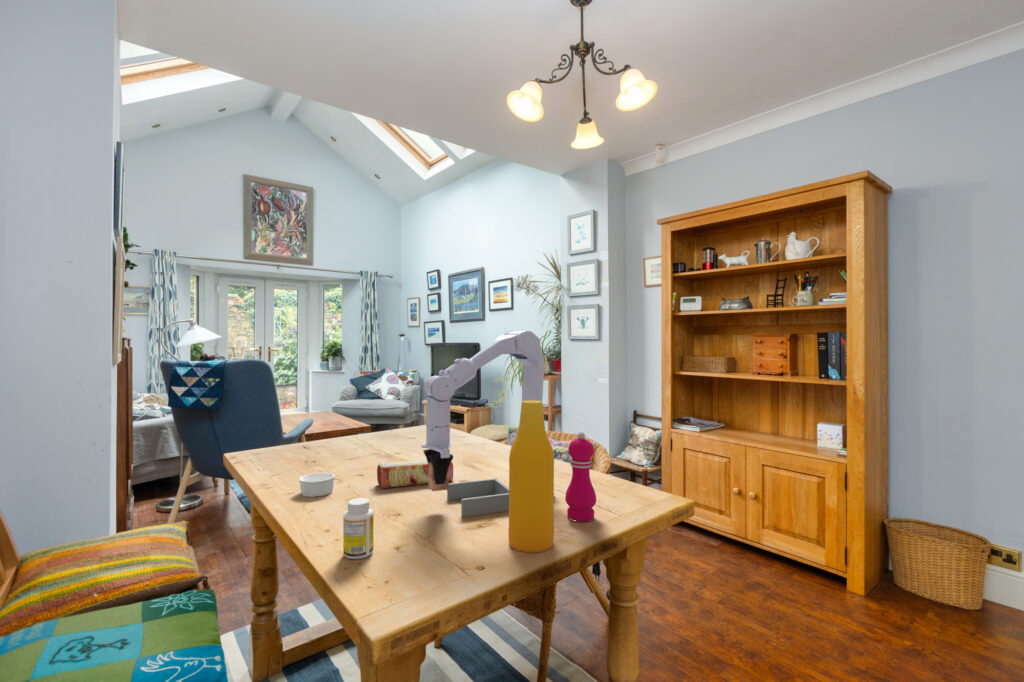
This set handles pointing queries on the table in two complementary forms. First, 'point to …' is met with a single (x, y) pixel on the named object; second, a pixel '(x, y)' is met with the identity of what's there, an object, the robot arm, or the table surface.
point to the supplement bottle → (358, 529)
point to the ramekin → (316, 484)
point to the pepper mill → (580, 481)
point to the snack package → (405, 473)
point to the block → (432, 484)
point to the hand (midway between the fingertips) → (437, 481)
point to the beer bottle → (531, 483)
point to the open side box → (482, 503)
